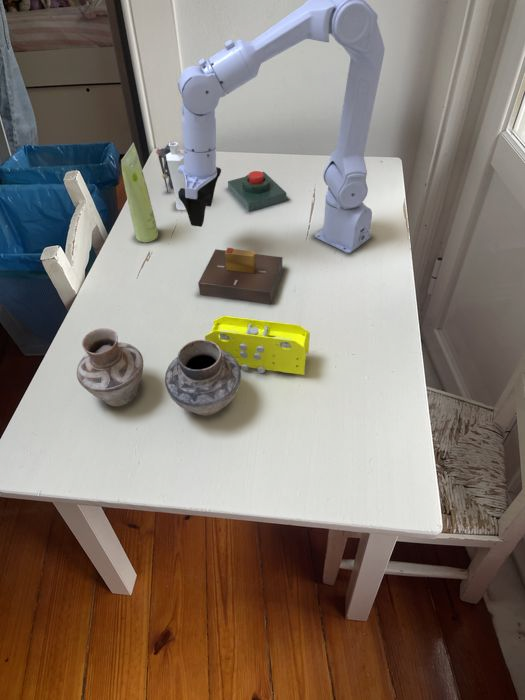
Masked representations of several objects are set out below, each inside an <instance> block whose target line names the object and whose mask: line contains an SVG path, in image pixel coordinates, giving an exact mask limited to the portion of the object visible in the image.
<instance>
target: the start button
mask: <svg viewBox="0 0 525 700" xmlns="http://www.w3.org/2000/svg"><path fill="white" fill-rule="evenodd" d="M262 172H263V171H259V170H253V171H250V172H249V173H248V174H247V175H248V177H249V183H251V184H261V183H263V182H264V174H263V173H262Z"/></svg>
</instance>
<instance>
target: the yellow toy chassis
mask: <svg viewBox="0 0 525 700" xmlns="http://www.w3.org/2000/svg"><path fill="white" fill-rule="evenodd" d="M310 334H311V332H310V331H308V330H307V329H306V328H304V327H303V326H301V325H300V324H293V323H287V322H278V321H271V320H263V319H262V320H261V319H253V318H246V317H239V316H229V315H222V316H220V317H218V318H215V319H213V325H212V328H211V331H210V332H208V333H207V334H205V335H204V340H209V341H212V342H214V343H216V344H217V345H218V346H219V348H220V349H221V350H224V351H226V352H228V353H230V354H231V355H232V356H233V357H234V358H235V359H236V360H237V361H238V363H239V366H240V369H241V371H245V372H248V371H249V368H251V369H257V372H258V373H260V374H264V373H265V371H266V370H267V371H273V372H281V373H284V374H293V375H302V376H304V375H305V374H306V373H305V370H306V361H307V355H309V352H310Z"/></svg>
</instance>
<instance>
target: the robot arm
mask: <svg viewBox="0 0 525 700" xmlns="http://www.w3.org/2000/svg"><path fill="white" fill-rule="evenodd" d="M378 17H379V16H378V13H377V12H376V11H375V9H374V8H372V6H371V5H370V4H369V3H368V2H367V1H366V0H307V1H306V2H304V3H303V4H302V5H300V6H299V7H298V8H297V9H295V10H293V11H292V12H291V13H289V14H288V15H287V16H285V17H284V18H282V19H281V20H280V21H278V22H277V23H275V24H274V25H273V26H271V27H270V28H269V29H267V30H266V31H264V32H263V33H261V34H260V35H259V36H257V37H256V38H254V39H252V41H247V40H243V39H237V40H235V41H233V39H231V38H230V39H229V40H227V41H226V42H224V46H225V47H224V48H223V49H221V50H220V51H218V52H216V53H214V55H212V56H210V57H209V58H208V59H205V58H201V59H200V60H199V61H198V65H190V66H188V67H186V68H185V69H184V70H183V71H182V72H181V75H180V76H179V79H178V82H177V88H178V91H179V94H180V95H181V99H182V102H181V104H182V106H181V114H182V116H181V127H182V128H181V130H182V131H181V133H182V149H183V150H182V151H183V154H184V165H180V166H179V168H178V172H179V173H183V174H184V178H185V183H186V187H185V188H180V190H179V192H178V196H179V199H180V200H181V201H182V203H183V204H184V206H185V208H186V210H185V211H186V213H187V217H188V219H189V223H190V226H192V227H203V225H204V222H205V214H206V209H207V207H211V206H212V204H213V202H214V201H213V200H214V195H215V189H216V185H217V182H218V179H219V177H220V176H221V173H222V169H221V167H218V166H217V118H216V111H215V110H216V108H217V107H218V105H219V101H220V99H221V98H223V97H225V96H227V95H228V94H231V93H232V92H234V91H235V90H236V89H239V88H240V87H242V86H243V85H245V84H247V83H248V82H250V81H251V80H253V79H255V78H256V77H257V76H258V74H259V71H260V68H261V65H262V64H263V63H265V62H267V61H269V60H270V59H272V58H274V57H276V56H278V55H279V54H282V53H283V52H285V51H287V50H289V49H290V48H292V47H294V46H296V45H298V44H299V43H301V42H303V41H305V40H311V41H318V42H321V43H330V35H331V37H333V38H334V40H335V42H337V44H338V45H340V46H342V48H343V50H345V52H346V53H347V54H348V55H349V57H350V59H349V60H350V61H349V67H348V73H347V79H346V86H345V91H344V93H345V94H344V98H343V105H342V111H341V116H340V122H339V123H340V124H339V129H338V137H337V142H336V143H337V144H336V149H335V150H333V151H332V152H331V153H330V158H329V161H328V163H327V165H326V166H325V168H324V170H323V175H322V176H323V181H324V183H325V185H326V186H327V192H326V194H325V203H324V216H323V228H322V229H321V230H320V231H318V232H316V233H315V234H314V238H315V239H317V240H319V241H321V242H323V243H326V244H328V245H330V246H332V247H334V248H336V249H338V250H340V251H342V252H344V253H346V254H351V253H352V252H353V251H355V250H356V249H358V248H359V247H360V246H362V245H364V243H366V242H367V241H368V240H369V239H371V237H372V236H371V235H370V232H371V231H370V230H371V224H372V218H373V210H372V209H371V208H370V207H369V206H367V205H366V204H364V201H365V200H366V198H367V196H368V192H369V188H368V184H367V175H368V170H367V166H366V161H365V152H366V145H367V141H368V135H369V131H370V125H371V121H372V116H373V111H374V105H375V102H376V96H377V91H378V86H379V83H380V76H381V71H382V67H383V61H384V57H385V43H384V40H383V37H382V34H381V30H380V27H379V24H378Z"/></svg>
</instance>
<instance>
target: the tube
mask: <svg viewBox="0 0 525 700" xmlns="http://www.w3.org/2000/svg"><path fill="white" fill-rule="evenodd" d="M120 165H121V167H120V168H121V174H122V180H123V184H124V185H123V186H124V189H125V194H126V200H127V203H128V204H127V205H128V209H129V214H130V218H131V222H132V226H133V230H134V235H135V238H136V240H137V241H138V242H141V243H151V242H153V241H155V240H156V239H157V238H158V236H159V231H158V226H157V222H156V218H155V214H154V209H153V206H152V201H151V198H150V194H149V189H148V185H147V182H146V178H145V175H144V171H143V167H142V164H141V161H140V157H139V154H138V151H137V148H136V146H135V142H132V144H131V145H130V147H129V149H128V150H127V151H126V153H125V154H124V156H123V157H122V159H121V160H120Z"/></svg>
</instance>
